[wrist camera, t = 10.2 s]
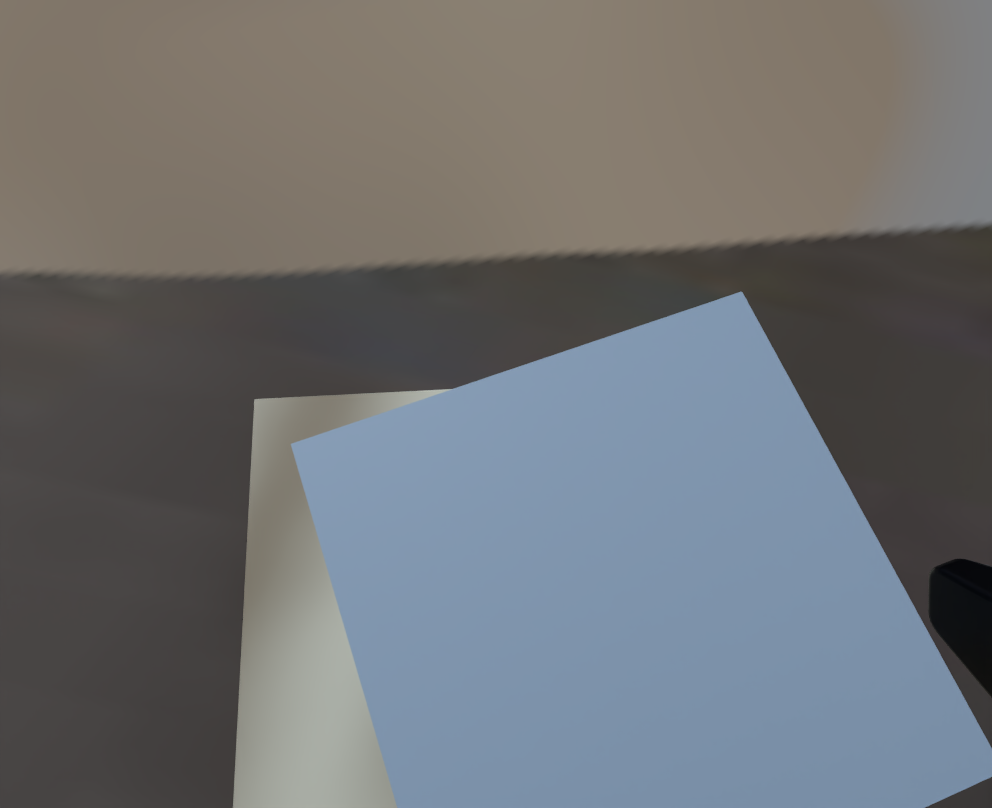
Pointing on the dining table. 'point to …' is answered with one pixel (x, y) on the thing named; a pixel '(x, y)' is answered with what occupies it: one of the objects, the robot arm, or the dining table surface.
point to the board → (300, 631)
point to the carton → (630, 590)
